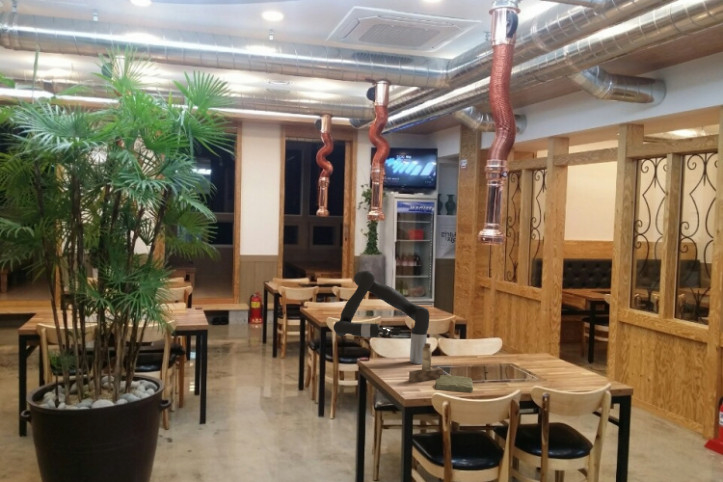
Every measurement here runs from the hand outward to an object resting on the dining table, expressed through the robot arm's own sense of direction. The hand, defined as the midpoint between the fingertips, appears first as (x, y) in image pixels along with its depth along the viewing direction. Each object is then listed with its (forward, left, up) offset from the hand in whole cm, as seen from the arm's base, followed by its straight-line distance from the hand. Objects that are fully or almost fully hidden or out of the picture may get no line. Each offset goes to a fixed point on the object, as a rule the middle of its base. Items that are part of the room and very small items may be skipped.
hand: (399, 331), depth 342 cm
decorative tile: (-12, +31, -24) cm, 41 cm away
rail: (-7, +16, -23) cm, 29 cm away
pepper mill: (-7, +15, -18) cm, 25 cm away
